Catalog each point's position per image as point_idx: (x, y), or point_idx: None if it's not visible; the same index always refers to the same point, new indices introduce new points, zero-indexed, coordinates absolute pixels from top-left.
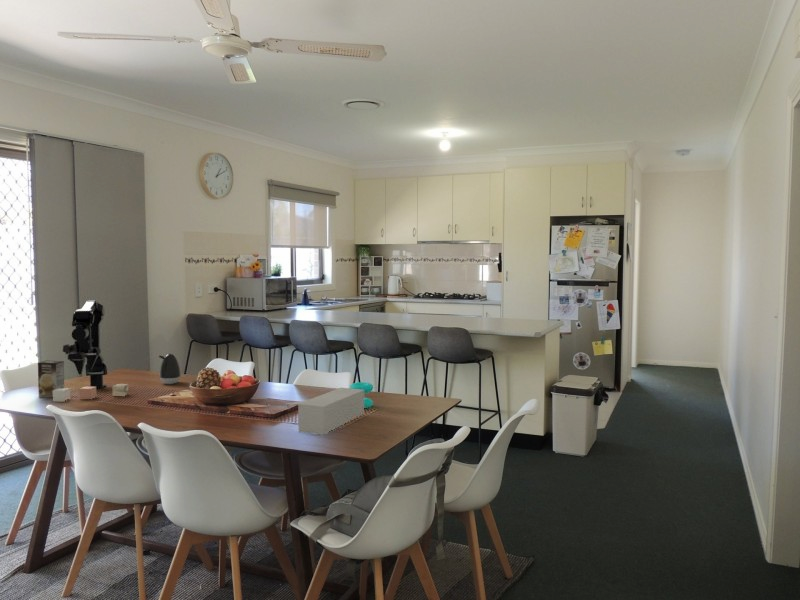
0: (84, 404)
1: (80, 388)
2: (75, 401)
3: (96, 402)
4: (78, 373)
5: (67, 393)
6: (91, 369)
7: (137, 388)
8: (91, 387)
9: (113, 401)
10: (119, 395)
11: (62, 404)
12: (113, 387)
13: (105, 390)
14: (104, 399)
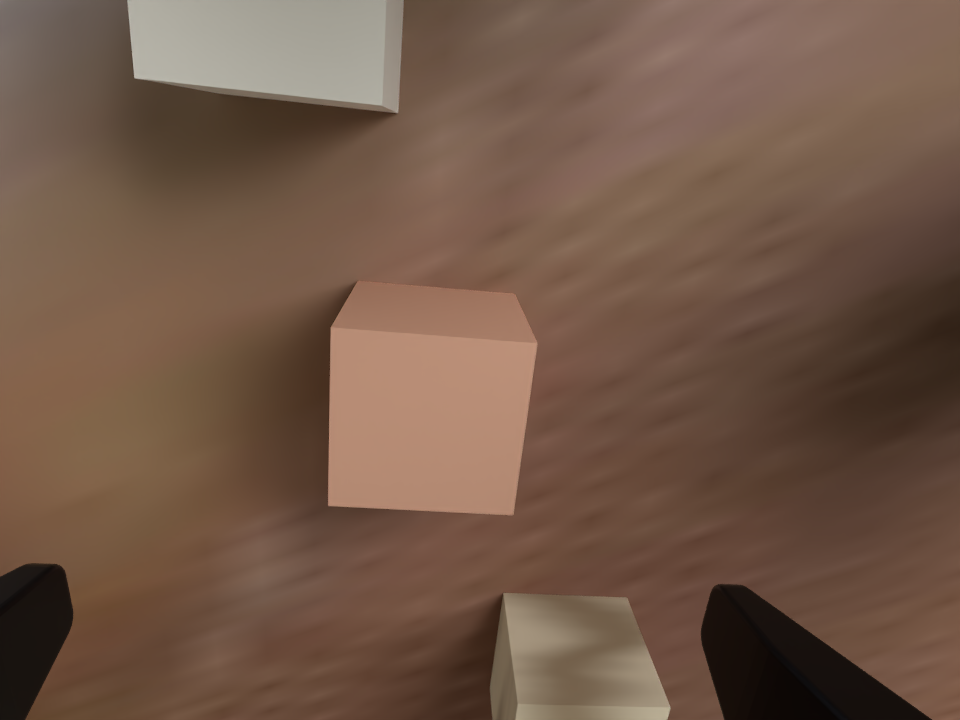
0: (70, 456)
1: (350, 334)
2: (229, 271)
3: (195, 542)
4: (5, 575)
5: (303, 99)
6: (720, 663)
7: (911, 670)
8: (437, 476)
9: (260, 678)
10: (496, 666)
11: (14, 164)
12: (515, 697)
13: (909, 385)
14: (359, 564)
